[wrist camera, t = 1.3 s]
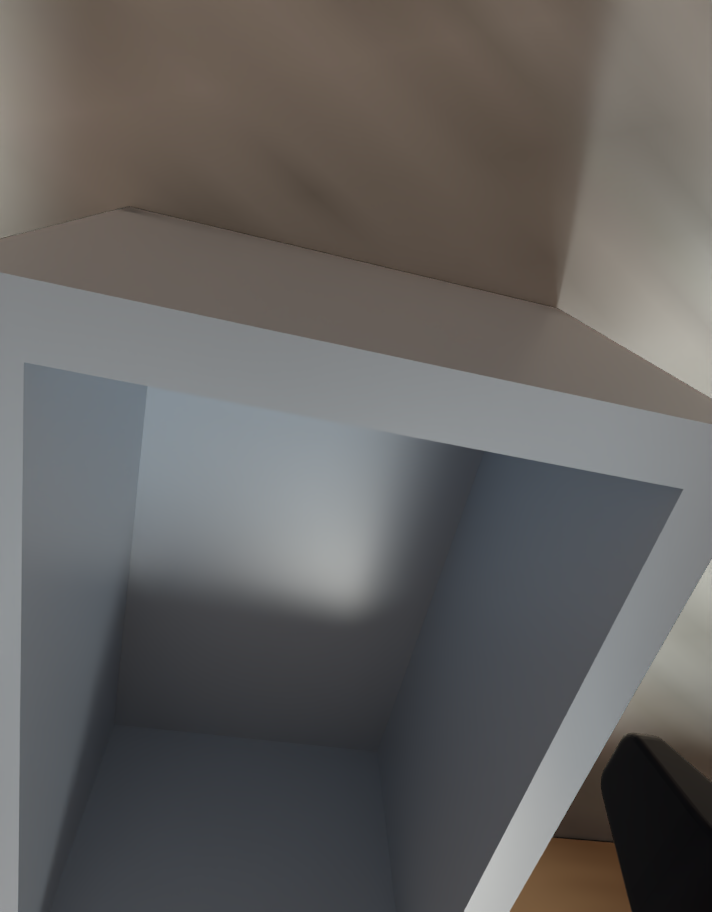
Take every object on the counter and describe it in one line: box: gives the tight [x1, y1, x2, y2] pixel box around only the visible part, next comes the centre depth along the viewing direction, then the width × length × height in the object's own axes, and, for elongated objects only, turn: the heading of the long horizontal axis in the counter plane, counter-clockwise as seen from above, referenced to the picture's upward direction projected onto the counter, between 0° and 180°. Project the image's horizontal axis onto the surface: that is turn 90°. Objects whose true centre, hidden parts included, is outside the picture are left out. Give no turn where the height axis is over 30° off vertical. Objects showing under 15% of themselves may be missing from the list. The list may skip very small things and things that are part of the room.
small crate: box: [0, 207, 712, 912], centre depth 9 cm, size 10×6×5 cm, turn 167°
